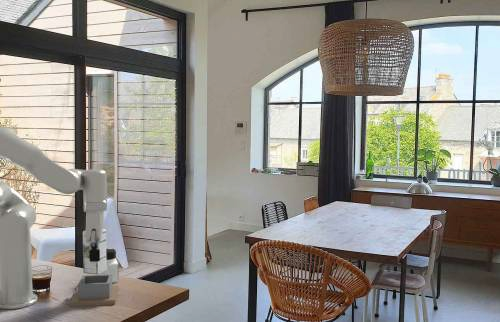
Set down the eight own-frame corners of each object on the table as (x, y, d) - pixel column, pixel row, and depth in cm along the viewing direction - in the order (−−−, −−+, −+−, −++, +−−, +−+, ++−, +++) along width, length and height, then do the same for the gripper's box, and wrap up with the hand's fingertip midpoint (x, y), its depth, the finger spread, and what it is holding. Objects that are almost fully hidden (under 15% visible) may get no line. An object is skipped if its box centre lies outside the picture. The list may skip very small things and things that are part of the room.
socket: (70, 306, 160) (70, 286, 160) (77, 292, 174) (77, 273, 173) (115, 304, 163) (115, 285, 162) (118, 290, 176) (118, 272, 176)
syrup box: (107, 270, 170) (106, 228, 169) (97, 275, 164) (97, 232, 163) (92, 268, 171) (92, 227, 170) (82, 273, 166) (82, 230, 165)
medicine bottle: (118, 282, 185) (118, 250, 184) (98, 284, 183) (98, 252, 182) (116, 276, 192) (116, 246, 191) (97, 278, 189) (96, 247, 188)
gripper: (87, 202, 174) (88, 251, 175) (79, 211, 157) (80, 265, 158) (109, 202, 175) (110, 251, 177) (104, 210, 158) (105, 264, 159)
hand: (96, 257), depth 167 cm, fingers closed on syrup box, 7 cm apart
